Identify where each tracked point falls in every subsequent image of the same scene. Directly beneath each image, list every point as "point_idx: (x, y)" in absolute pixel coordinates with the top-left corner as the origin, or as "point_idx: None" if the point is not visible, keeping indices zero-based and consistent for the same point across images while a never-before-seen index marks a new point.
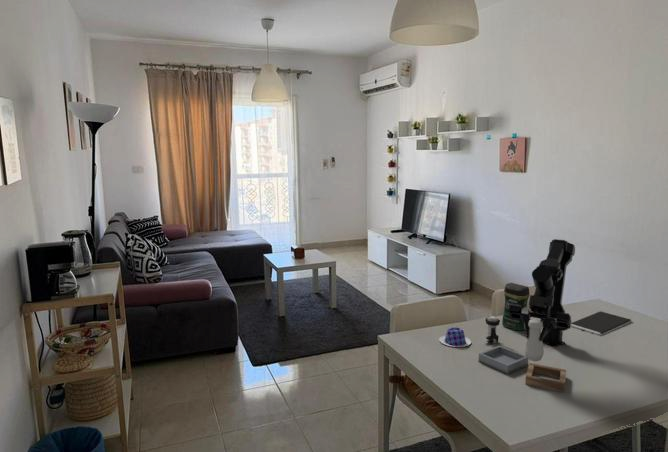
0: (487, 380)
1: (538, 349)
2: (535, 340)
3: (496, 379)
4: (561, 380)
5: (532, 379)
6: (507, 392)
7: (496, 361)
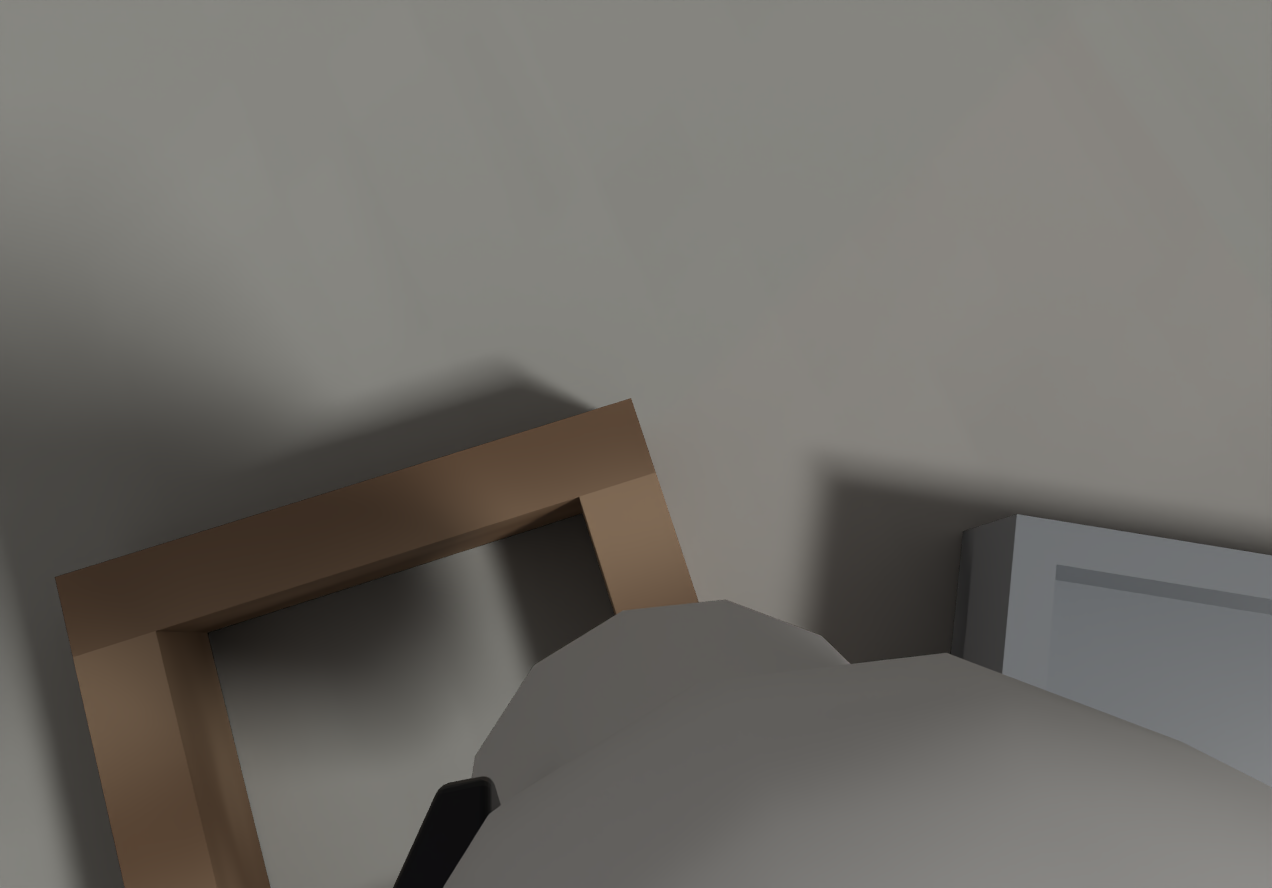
0: (1052, 161)
1: (525, 712)
2: (626, 711)
3: (984, 273)
4: (139, 697)
5: (533, 435)
6: (698, 51)
7: (1245, 551)
